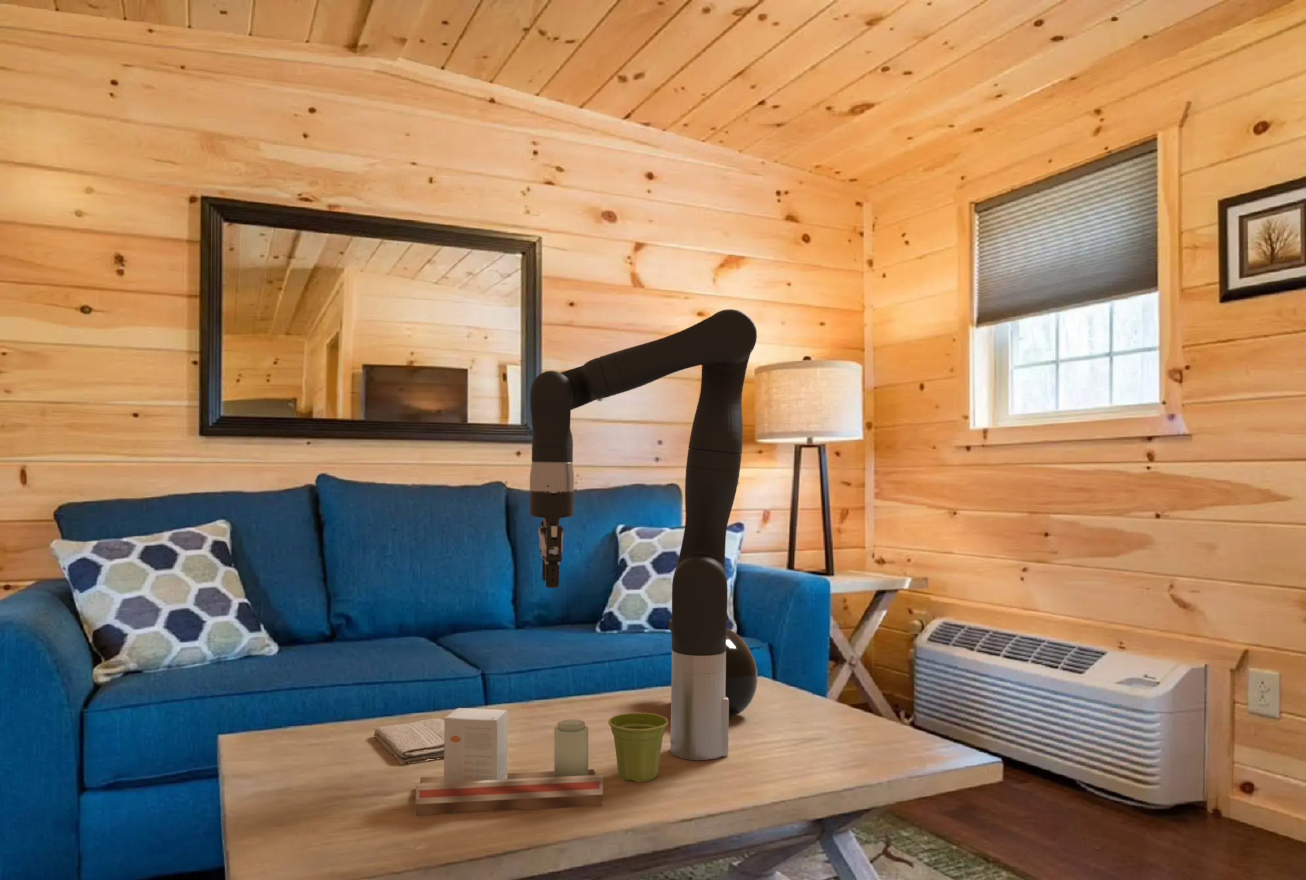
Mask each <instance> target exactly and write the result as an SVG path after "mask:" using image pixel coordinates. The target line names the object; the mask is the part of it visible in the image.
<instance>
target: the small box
mask: <svg viewBox="0 0 1306 880" xmlns="http://www.w3.org/2000/svg"><path fill="white" fill-rule="evenodd" d="M444 721H445V734H444V759H443V769H444V770H443V771H444V773H443V776H444V782H459V781H480V780H501V779H507V773H508V710H507V709H492V708H491V709H489V708H488V709H487V708H471V707H470V708H467V707H466V708H465V707H457V708H456V709H454V710H453V711H452V712H450V714H448V715H447V716H446V717H444Z"/></svg>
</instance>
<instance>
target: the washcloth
mask: <svg viewBox="0 0 1306 880" xmlns="http://www.w3.org/2000/svg"><path fill="white" fill-rule="evenodd" d="M444 734H445V720H443V719H442V718H440V717H436V718H428V719H420V720H418V721H414V722H409V723H400V724H392V725H384V726H380V727H377V728H376V729H375V730H374V734H373V737H376V738H377V739H376V738H375V739H376V740H377V741H378V740H379V741H378V742H379V743H380V742H381V743H382V744H381V743H380V744H381V745H382V746H383V747H384V746H385V747H384V748H385V749H386V750H387V751H388V752H390V753H391V755H393V756H394V757H395V756H396V757H395V759H396V758H397V759H398V760H397V759H396V760H397V761H398V762H399V761H400V762H399V764H400V763H401V764H400V765H405V764H407V763H406V762H409V763H408V764H412V763H411V762H419V763H421V762H420V761H425V760H427V759H437V758H444ZM437 760H438V759H437ZM404 763H405V764H404Z"/></svg>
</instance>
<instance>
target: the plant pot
mask: <svg viewBox="0 0 1306 880" xmlns="http://www.w3.org/2000/svg"><path fill="white" fill-rule="evenodd" d="M607 723H608V725H609V726H610V729H611V734H612V735H613V742H614V747H615V750H614V751H615V758H616V765H617V773H618V776H619V778H620V779H622V780H623V781H628V780H629V781H630V780H631V781H634V782H637V783H642V781H643V782H648V781H653V780H654V779H655V778H656V776H658V775H659V774H658V773H659V767H660V759H661V751H662V745H663V744H662V742H663V738H664V734H665V732H666V727H667V726H668V725H669V719H668V718H667V717H666V716H663V715H660V714H656V713H650V712H626V713H625V712H624V713H620V714H616V715H613V716H611V717H610V718H608V720H607Z"/></svg>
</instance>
